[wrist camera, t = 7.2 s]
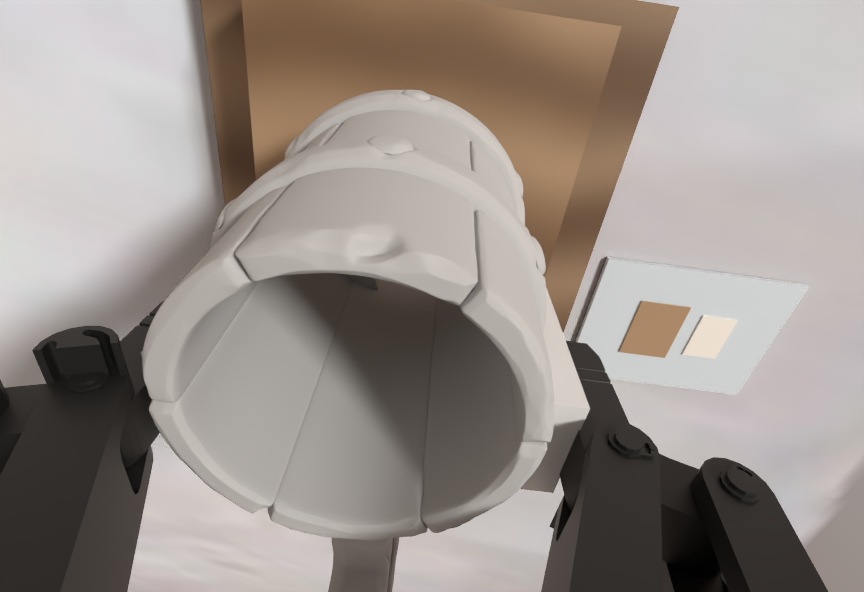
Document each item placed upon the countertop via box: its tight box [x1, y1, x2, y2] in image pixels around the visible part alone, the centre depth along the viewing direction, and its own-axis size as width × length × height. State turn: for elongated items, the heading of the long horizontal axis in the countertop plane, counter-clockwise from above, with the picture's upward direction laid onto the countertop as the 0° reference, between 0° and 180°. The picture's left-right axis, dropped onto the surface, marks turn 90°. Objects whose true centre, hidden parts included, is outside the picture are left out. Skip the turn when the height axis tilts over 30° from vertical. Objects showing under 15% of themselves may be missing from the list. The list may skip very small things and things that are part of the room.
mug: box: [142, 90, 554, 592], centre depth 11 cm, size 8×12×12 cm, turn 176°
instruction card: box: [575, 257, 809, 395], centre depth 26 cm, size 8×11×1 cm
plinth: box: [200, 0, 679, 332], centre depth 20 cm, size 18×18×5 cm
